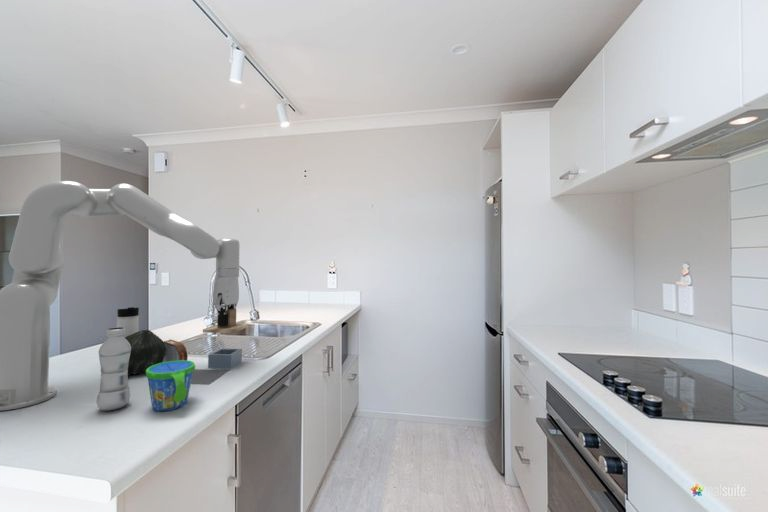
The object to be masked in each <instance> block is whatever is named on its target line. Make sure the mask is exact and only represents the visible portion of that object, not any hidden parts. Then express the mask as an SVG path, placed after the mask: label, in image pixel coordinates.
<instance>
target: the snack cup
mask: <svg viewBox="0 0 768 512" xmlns="http://www.w3.org/2000/svg"><path fill="white" fill-rule="evenodd" d="M194 369H196V364H195V362H194V361H192V360H188V359H187V360H176V361H168V362H162V363H158V364H155V365H152V366H150V367H149V368H147V369H146V374H145V377H146V379H147V381H148V389H149V397H150V403H151V408H152V409H153V410H155V411H157V412H161V411H164V412H169V411H173V410H176V409H179V408H180V407H182V406H184V405H185V404H187V402H188V399H189V398H188V397H189V394H190V387H191V385H192V384H191V378H192V373H193V371H194Z"/></svg>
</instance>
